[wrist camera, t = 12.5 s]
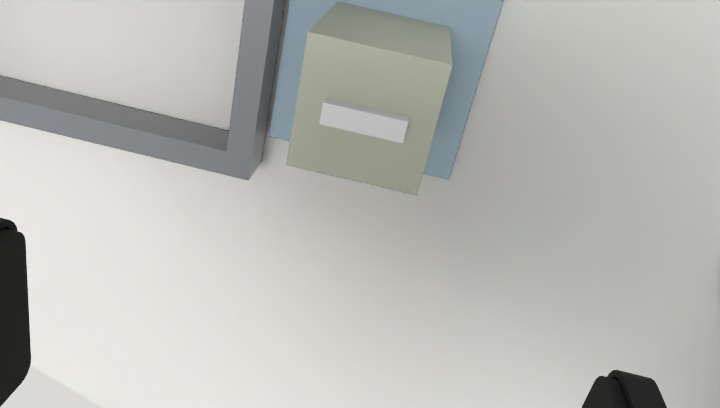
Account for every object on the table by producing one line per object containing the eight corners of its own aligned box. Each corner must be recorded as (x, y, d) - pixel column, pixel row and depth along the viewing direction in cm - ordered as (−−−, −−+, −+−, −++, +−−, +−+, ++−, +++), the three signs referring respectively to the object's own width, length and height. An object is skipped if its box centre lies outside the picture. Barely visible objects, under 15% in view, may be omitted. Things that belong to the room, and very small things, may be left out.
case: (331, -142, 26) (212, -186, 12) (280, 166, 32) (164, 360, 18) (-114, -248, 26) (-716, -407, 12) (-77, 79, 32) (-449, 209, 19)
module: (449, 26, 27) (452, 69, 21) (421, 132, 30) (416, 202, 23) (338, 1, 27) (304, 35, 21) (318, 108, 30) (282, 171, 23)
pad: (504, -12, 27) (506, -10, 26) (448, 174, 31) (448, 179, 30) (301, -61, 27) (298, -60, 26) (271, 132, 31) (268, 136, 31)
